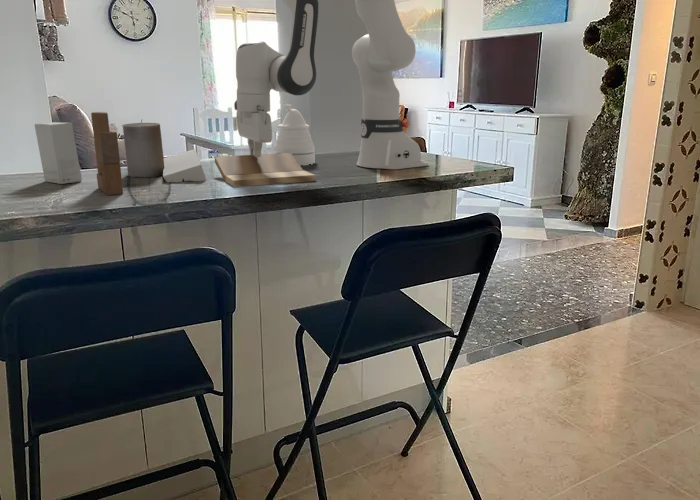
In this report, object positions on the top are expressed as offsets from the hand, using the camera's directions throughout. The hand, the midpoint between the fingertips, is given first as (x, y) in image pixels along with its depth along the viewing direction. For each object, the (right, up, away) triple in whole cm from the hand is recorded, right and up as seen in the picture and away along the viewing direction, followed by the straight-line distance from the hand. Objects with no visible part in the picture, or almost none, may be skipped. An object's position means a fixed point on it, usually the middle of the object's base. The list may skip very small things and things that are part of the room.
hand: (255, 156), depth 161 cm
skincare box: (-47, -9, -13) cm, 50 cm away
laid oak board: (+6, -8, -9) cm, 13 cm away
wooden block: (-30, -12, -24) cm, 40 cm away
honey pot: (+9, +2, +24) cm, 25 cm away
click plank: (+1, -4, -1) cm, 4 cm away
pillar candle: (-30, -6, -1) cm, 30 cm away
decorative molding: (-21, -4, +5) cm, 23 cm away
